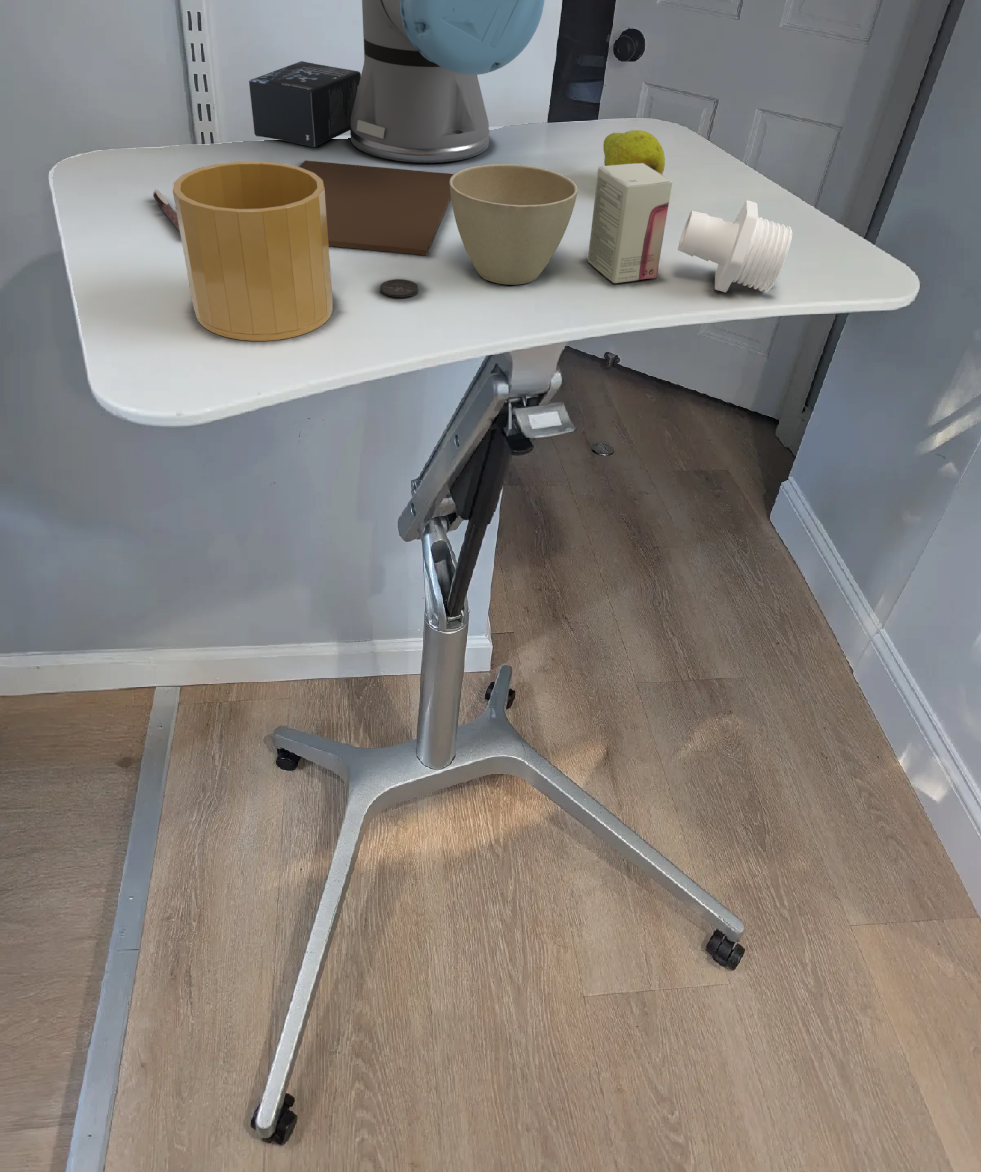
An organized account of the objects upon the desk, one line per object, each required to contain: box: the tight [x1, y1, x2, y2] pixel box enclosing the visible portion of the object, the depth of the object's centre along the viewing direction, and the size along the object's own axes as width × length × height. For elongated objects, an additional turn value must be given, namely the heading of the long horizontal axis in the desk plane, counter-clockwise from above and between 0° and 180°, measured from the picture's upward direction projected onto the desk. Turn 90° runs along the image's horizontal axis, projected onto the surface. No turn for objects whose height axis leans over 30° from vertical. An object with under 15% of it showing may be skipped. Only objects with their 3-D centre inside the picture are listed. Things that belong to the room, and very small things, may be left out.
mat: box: [298, 160, 455, 256], centre depth 84 cm, size 20×16×1 cm
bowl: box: [450, 163, 579, 286], centre depth 72 cm, size 10×10×7 cm
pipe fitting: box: [677, 199, 793, 294], centre depth 73 cm, size 6×7×8 cm
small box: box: [587, 163, 673, 284], centre depth 73 cm, size 5×4×8 cm
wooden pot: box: [172, 160, 334, 342], centre depth 64 cm, size 10×10×9 cm
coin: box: [379, 278, 419, 298], centre depth 71 cm, size 3×1×3 cm
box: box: [248, 60, 362, 148], centre depth 99 cm, size 8×6×11 cm
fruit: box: [603, 129, 666, 175], centre depth 91 cm, size 6×6×12 cm
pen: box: [152, 189, 180, 232], centre depth 79 cm, size 11×1×1 cm, turn 29°
